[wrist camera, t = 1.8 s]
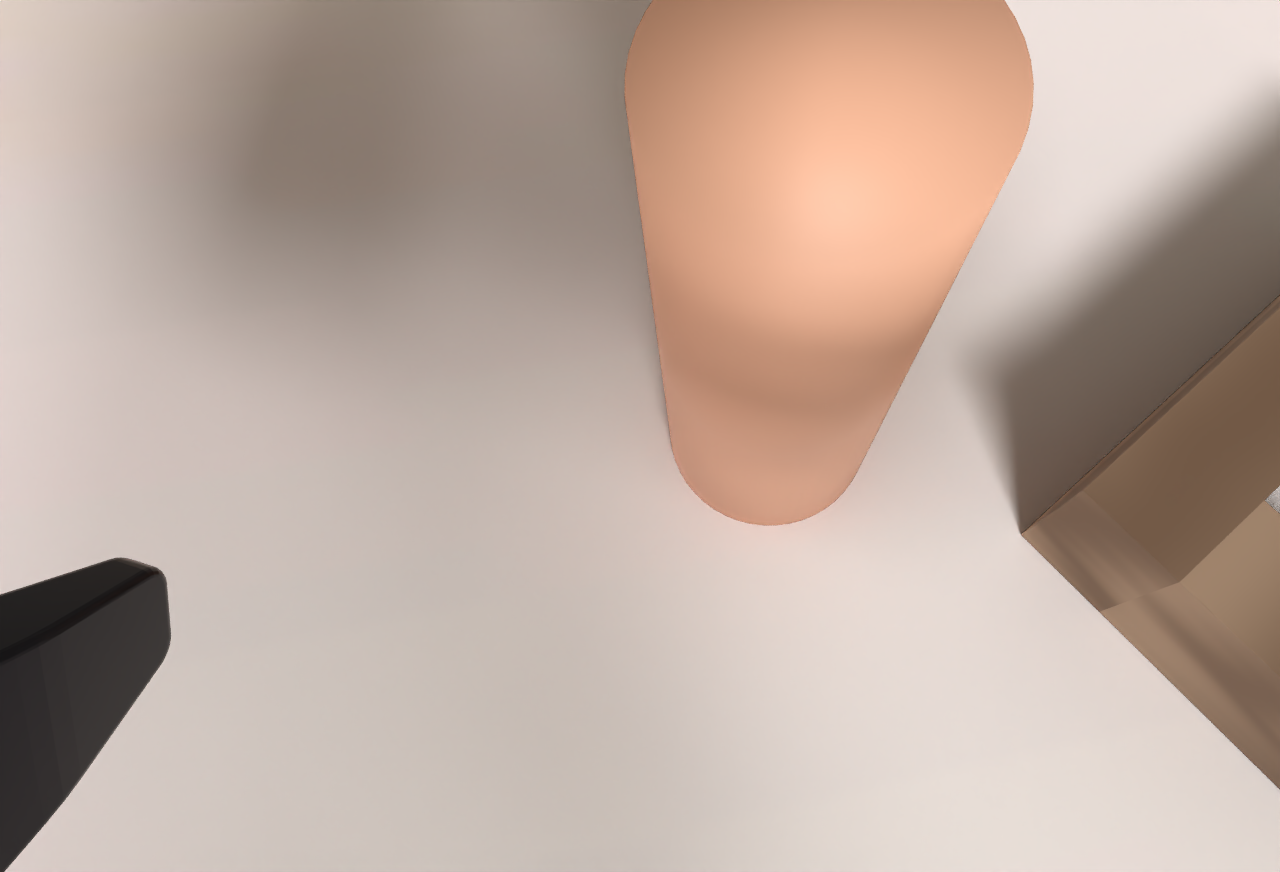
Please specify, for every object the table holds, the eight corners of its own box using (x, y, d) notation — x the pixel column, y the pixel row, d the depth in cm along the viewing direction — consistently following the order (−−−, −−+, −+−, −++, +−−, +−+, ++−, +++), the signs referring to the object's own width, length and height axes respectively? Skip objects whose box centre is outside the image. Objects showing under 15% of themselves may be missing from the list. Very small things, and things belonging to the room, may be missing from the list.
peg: (906, 437, 24) (1121, 84, 11) (761, 566, 23) (818, 344, 10) (772, 304, 25) (831, -147, 12) (631, 423, 24) (543, 72, 12)
